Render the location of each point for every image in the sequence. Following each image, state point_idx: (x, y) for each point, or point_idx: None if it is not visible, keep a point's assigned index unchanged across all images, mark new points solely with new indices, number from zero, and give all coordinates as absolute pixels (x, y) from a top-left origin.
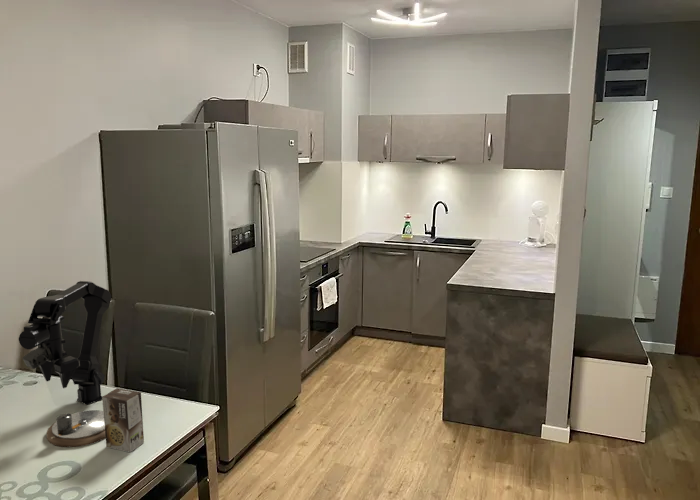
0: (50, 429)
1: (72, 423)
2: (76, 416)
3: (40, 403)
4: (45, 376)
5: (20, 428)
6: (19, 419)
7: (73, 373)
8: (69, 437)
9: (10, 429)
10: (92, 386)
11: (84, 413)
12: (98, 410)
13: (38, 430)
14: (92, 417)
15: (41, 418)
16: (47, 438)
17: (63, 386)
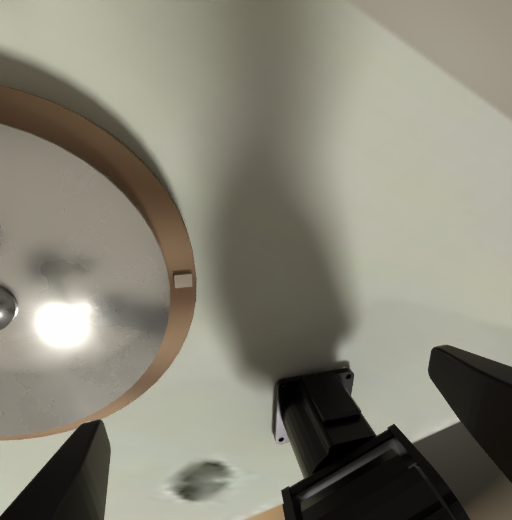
0: (99, 150)
1: (26, 260)
2: (113, 310)
3: (450, 262)
4: (494, 382)
5: (307, 74)
6: (400, 126)
7: (417, 505)
8: None
9: (340, 31)
10: (306, 473)
11: (120, 351)
12: (102, 407)
13: (206, 126)
14: (29, 364)
15: (322, 202)
16: (18, 90)
17: (64, 448)
